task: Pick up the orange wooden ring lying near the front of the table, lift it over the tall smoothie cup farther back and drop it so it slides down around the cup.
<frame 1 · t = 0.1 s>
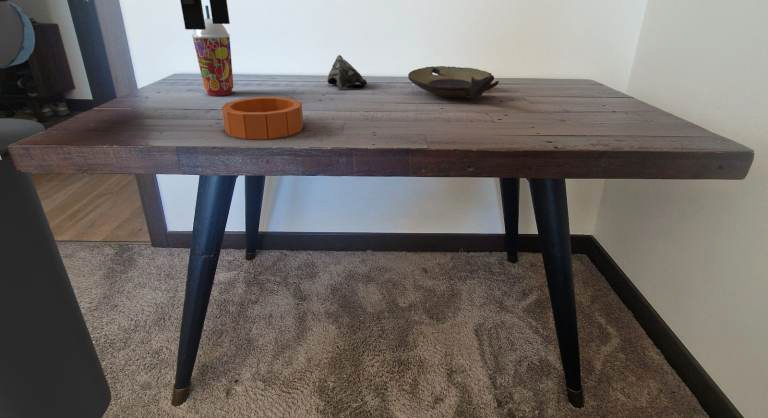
hand: (209, 26, 70), 18 cm above the table, tool pointing down, fingers open, 13 cm apart
smoothie: (220, 94, 109), on the table
broken bowl: (451, 97, 110), on the table
ring: (265, 128, 82), on the table
fossil: (349, 87, 120), on the table
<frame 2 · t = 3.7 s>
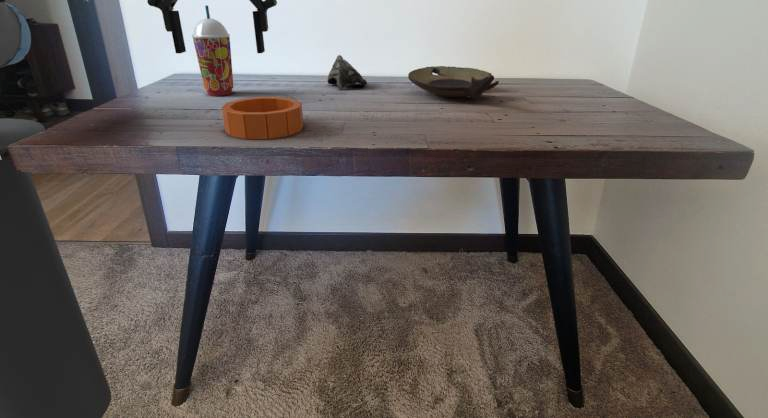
hand: (221, 52, 75), 13 cm above the table, tool pointing down, fingers open, 13 cm apart
nothing on the table moved.
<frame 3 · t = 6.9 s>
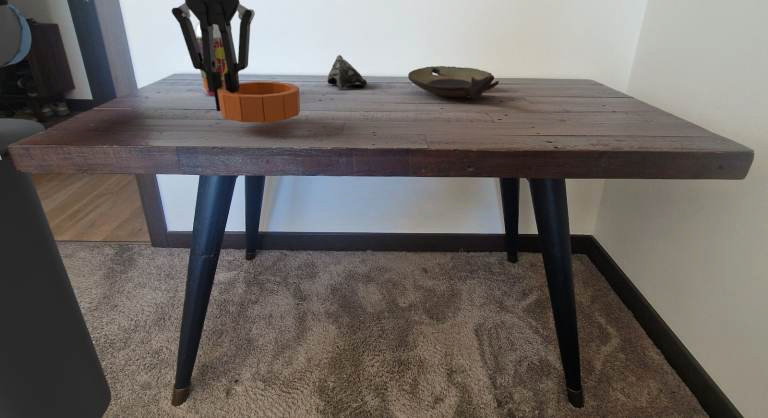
hand: (226, 109, 80), 4 cm above the table, tool pointing down, fingers closed on ring
ring: (261, 112, 80), point 3 cm above the table, touching gripper
everything else where it was.
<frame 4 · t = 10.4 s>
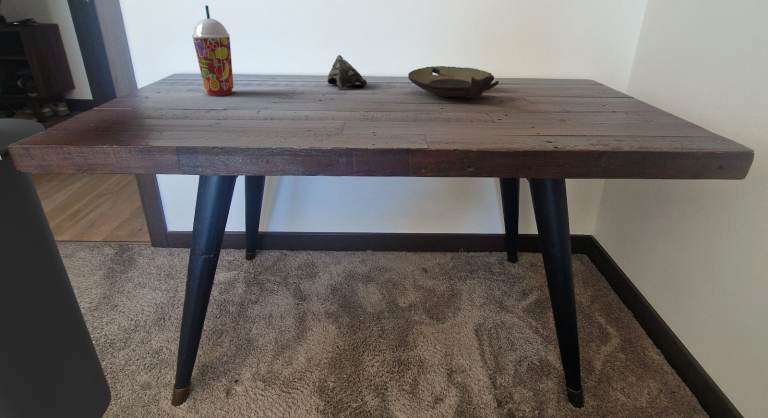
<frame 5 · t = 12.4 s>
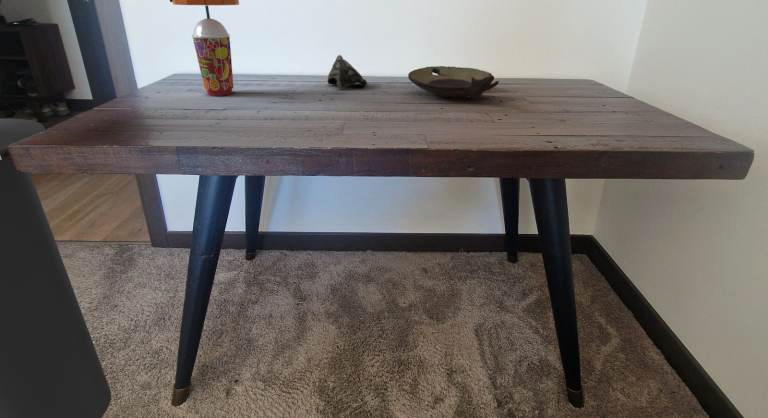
hand: (178, 1, 100), 21 cm above the table, tool pointing down, fingers closed on ring
ring: (206, 4, 100), point 20 cm above the table, touching gripper
everything else where it was.
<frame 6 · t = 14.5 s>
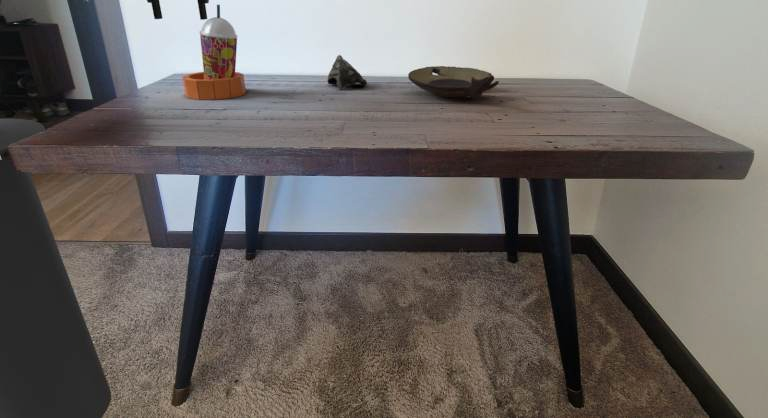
hand: (181, 19, 101), 17 cm above the table, tool pointing down, fingers open, 10 cm apart
ring: (216, 93, 109), on the table
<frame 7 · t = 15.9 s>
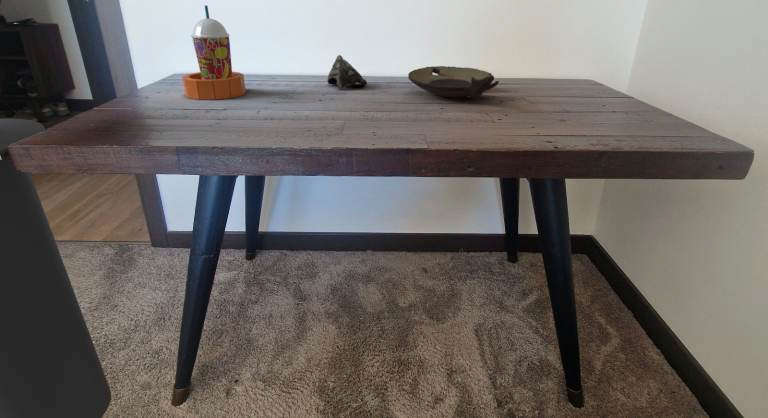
nothing on the table moved.
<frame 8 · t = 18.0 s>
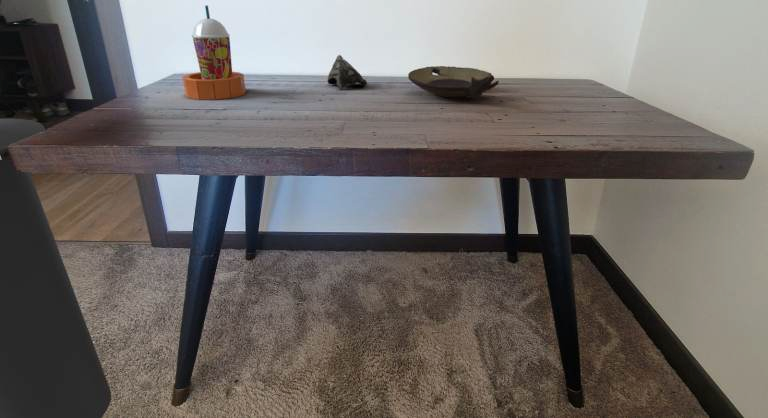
nothing on the table moved.
at the end: ring 1.0 cm from the smoothie (horizontally); ring on the table; smoothie tilted 0° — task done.
